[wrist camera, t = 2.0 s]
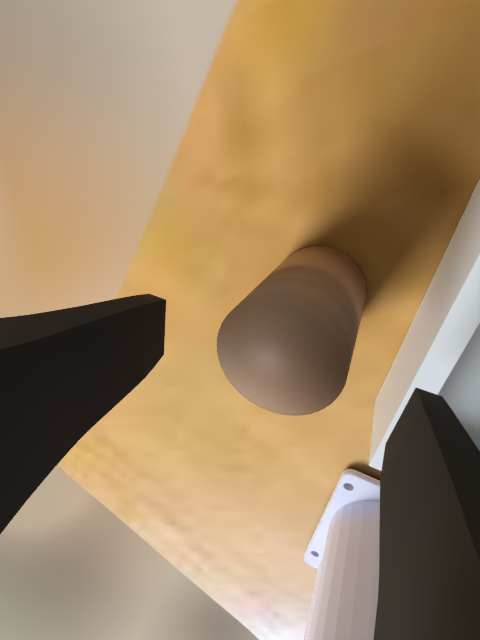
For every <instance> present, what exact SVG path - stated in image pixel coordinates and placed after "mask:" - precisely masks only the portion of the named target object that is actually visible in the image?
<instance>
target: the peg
mask: <svg viewBox="0 0 480 640" xmlns="http://www.w3.org/2000/svg"><path fill="white" fill-rule="evenodd" d="M365 299H366V283H365V279H364V276H363V274H362V271H361V270H360V268H359V267H358V265H357V264H356V263H355V262H354V260H353V259H351V258H350V257H349V256H348V255H346V254H345V253H343V252H341V251H339V250H337V249H334V248H331V247H326V246H311V247H306V248H303V249H300V250H298V251H296V252H294V253H293V254H291V255H290V256H289V257H288V258H287V259H286V260H284V261H283V262H282V263H281V264H280V265H279V266H278V267H277V268H276V269H275V270H274V271H273V272H272V273H271V274H270V275H269V276H268V277H267V278H266V279H265V280H263V281H262V282H261V283H260V284H259V285H258V286H257V287H256V288H255V289H254V290H253V291H252V292H251V293H250V294H249V295H248V296H247V297H246V298H245V299H244V300H243V301H241V302H240V303H239V304H238V305H237V306H236V307H235V308H234V309H233V310H232V311H231V312H230V313H229V314H228V315H227V317H226V318H225V319H224V321H223V323H222V324H221V327H220V329H219V333H218V337H217V353H218V358H219V361H220V364H221V367H222V369H223V371H224V373H225V375H226V377H227V378H228V380H229V381H230V383H231V384H232V385H233V386H234V388H235V389H236V390H237V391H238V392H239V393H240V394H241V395H243V396H244V397H245V398H246V399H248V400H249V401H250V402H252V403H254V404H255V405H257V406H259V407H261V408H263V409H265V410H268V411H271V412H274V413H278V414H283V415H295V416H297V415H306V414H311V413H314V412H317V411H320V410H322V409H324V408H326V407H327V406H329V405H330V404H331V403H332V402H333V401H335V400H336V399H337V397H338V396H339V395H340V393H341V392H342V390H343V388H344V386H345V383H346V379H347V376H348V371H349V367H350V363H351V359H352V354H353V350H354V346H355V342H356V337H357V333H358V329H359V325H360V321H361V316H362V312H363V308H364V304H365Z"/></svg>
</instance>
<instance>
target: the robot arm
mask: <svg viewBox="0 0 480 640" xmlns="http://www.w3.org/2000/svg"><path fill="white" fill-rule="evenodd" d="M165 312H166V300H165V299H162V298H159V297H156V296H153V295H151V294H144V295H136V296H130V297H124V298H119V299H114V300H109V301H104V302H99V303H94V304H89V305H84V306H79V307H73V308H67V309H62V310H56V311H50V312H44V313H38V314H31V315H24V316H17V317H6V318H0V534H1V532H2V531H3V530H4V529H5V527H6V526H7V525H8V523H9V522H10V521H11V520H12V518H13V517H14V516H15V515H16V513H17V512H18V511H19V510H20V508H21V507H22V506H23V505H24V503H25V502H26V500H27V499H28V498H29V497H30V496H31V495H32V493H33V492H34V491H35V490H36V489H37V487H38V486H39V485H40V484H41V483H42V481H43V480H44V479H45V478H46V477H47V476H48V474H49V473H50V472H51V471H52V470H53V468H54V467H55V466H56V465H57V464H58V463H59V462H60V461H61V459H62V458H63V457H64V456H65V455H66V454H67V453H68V452H69V450H70V449H71V448H72V447H73V446H74V445H75V444H76V443H77V441H78V440H79V439H80V438H81V437H82V436H83V435H84V434H85V433H86V432H87V431H88V430H89V429H90V428H91V427H93V426H94V425H95V424H96V423H97V422H98V421H99V420H100V419H101V418H102V417H103V416H105V415H106V414H107V413H108V412H109V411H110V410H111V409H112V408H113V407H114V406H115V405H117V404H118V403H119V402H120V401H121V400H122V399H123V398H124V397H125V396H126V395H127V394H128V393H129V392H131V391H132V390H133V389H134V388H135V387H136V386H137V385H138V384H139V383H140V382H141V381H142V380H143V379H144V378H145V377H146V376H147V375H148V374H149V372H150V371H151V370H152V369H153V368H154V366H155V365H156V364H157V362H158V361H159V360H160V359H161V357H162V356H163V355H164V336H165ZM347 483H349V484H347ZM350 484H351V485H350ZM304 561H305V562H306V563H307V564H308V565H310V566H312V567H314V568H316V569H317V575H316V580H315V585H314V590H313V595H312V600H311V605H310V610H309V616H308V621H307V626H306V631H305V636H304V640H480V450H479V449H478V448H477V446H476V445H475V443H474V442H473V440H472V439H471V437H470V436H469V434H468V433H467V431H466V430H465V428H464V427H463V425H462V424H461V422H460V421H459V419H458V418H457V417H456V415H455V414H454V412H453V411H452V409H451V408H450V406H449V405H448V403H447V402H446V401H445V399H444V398H443V397H442V396H439V395H436V394H434V393H431V392H428V391H425V390H422V389H419V388H415V390H414V392H413V393H412V395H411V397H410V399H409V401H408V403H407V405H406V406H405V408H404V410H403V412H402V414H401V416H400V418H399V420H398V421H397V423H396V425H395V427H394V429H393V431H392V433H391V434H390V436H389V438H388V440H387V442H386V444H385V450H384V457H383V463H382V471H381V478H380V481H379V480H377V479H375V478H372V477H370V476H368V475H365V474H363V473H361V472H359V471H356V470H353V469H346V470H344V471H343V473H342V475H341V477H340V479H339V481H338V484H337V486H336V488H335V490H334V492H333V494H332V496H331V498H330V500H329V503H328V505H327V507H326V509H325V511H324V513H323V515H322V517H321V520H320V522H319V524H318V526H317V528H316V530H315V532H314V534H313V537H312V539H311V541H310V543H309V545H308V547H307V549H306V551H305V554H304Z"/></svg>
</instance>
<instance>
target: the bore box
mask: <svg viewBox="0 0 480 640" xmlns="http://www.w3.org/2000/svg"><path fill="white" fill-rule="evenodd" d="M415 388H419V389H422V390H425V391H428V392H431V393H434V394H436V395H439V396H442V397H443V398H444V399H445V401H446V402H447V403H448V405H449V406H450V408H451V409H452V411H453V412H454V414H455V415H456V417H457V418H458V419H459V421H460V422H461V424H462V425H463V427H464V428H465V430H466V431H467V433H468V434H469V436H470V437H471V439H472V440H473V442H474V443H475V445H476V446H477V448H478V449H479V450H480V179H479V181H478V183H477V185H476V187H475V189H474V191H473V194H472V196H471V198H470V200H469V202H468V204H467V206H466V209H465V211H464V213H463V215H462V217H461V219H460V221H459V223H458V226H457V228H456V230H455V232H454V234H453V236H452V238H451V241H450V243H449V245H448V247H447V249H446V251H445V253H444V255H443V258H442V260H441V262H440V264H439V266H438V268H437V270H436V272H435V275H434V277H433V279H432V281H431V283H430V285H429V287H428V290H427V292H426V294H425V296H424V298H423V300H422V302H421V304H420V307H419V309H418V311H417V313H416V315H415V317H414V319H413V321H412V324H411V326H410V328H409V330H408V332H407V334H406V336H405V339H404V341H403V343H402V345H401V347H400V349H399V351H398V353H397V356H396V358H395V360H394V362H393V364H392V366H391V368H390V371H389V373H388V375H387V377H386V379H385V381H384V383H383V385H382V388H381V390H380V392H379V394H378V396H377V398H376V400H375V408H374V418H373V427H372V437H371V447H370V457H369V466H371V467H373V468H375V469H378V470H380V471H382V463H383V457H384V450H385V444H386V442H387V440H388V438H389V436H390V434H391V433H392V431H393V429H394V427H395V425H396V423H397V421H398V420H399V418H400V416H401V414H402V412H403V410H404V408H405V406H406V405H407V403H408V401H409V399H410V397H411V395H412V393H413V392H414V390H415Z"/></svg>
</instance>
